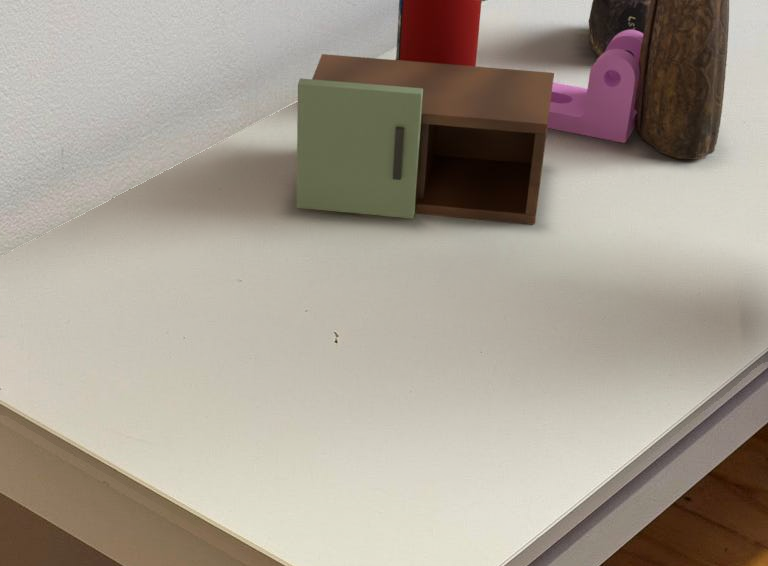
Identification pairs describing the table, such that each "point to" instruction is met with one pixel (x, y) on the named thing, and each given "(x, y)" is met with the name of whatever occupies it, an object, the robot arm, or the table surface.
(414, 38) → the beverage can
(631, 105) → the bracket
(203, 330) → the table surface
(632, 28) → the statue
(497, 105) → the cabinet
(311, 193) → the door
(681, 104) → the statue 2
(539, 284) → the table surface
